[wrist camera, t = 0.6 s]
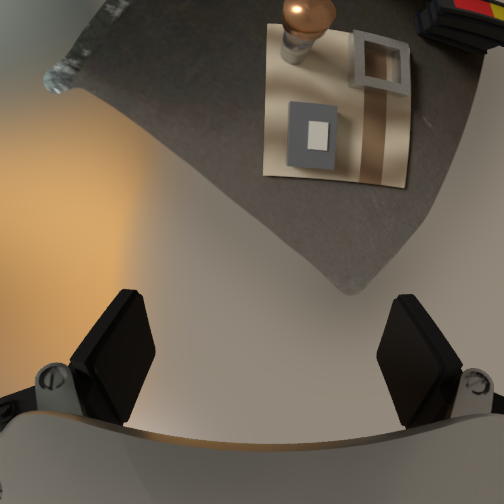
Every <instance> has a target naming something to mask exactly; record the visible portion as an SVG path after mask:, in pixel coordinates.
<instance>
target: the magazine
mask: <svg viewBox="0 0 504 504" xmlns="http://www.w3.org/2000/svg"><path fill="white" fill-rule="evenodd" d="M425 5H426V9H425V10H424V11H419V10H417V11H416V17H414V21H415V26H416V31H417V34H418V35H420V36H424V37H427V38H430V39H433V40H436V41H439V42H442V43H445V44H448V45H451V46H453V47H456V48H459V49H461V50H464V51H466V52H469V53H471V54H474V53H477V52H478V53H480V54H483V55H484V54H487V50H488V49H491V48H494V47H496V46H499V45H500V46H502V47H504V3H501V2H498V1H495V0H432V1H431V2H428V1H426V2H425Z"/></svg>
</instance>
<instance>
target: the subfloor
mask: <svg viewBox="0 0 504 504" xmlns="http://www.w3.org/2000/svg"><path fill="white" fill-rule="evenodd" d="M283 34H284V28H283V26H282V24H267V60H266V98H265V131H264V162H263V175H266V176H287V177H303V178H317V179H329V180H341V181H351V182H360V183H369V184H377V185H386V186H393V187H400V188H405V181H406V172H407V163H408V152H409V138H410V119H411V68H410V96H408V97H403V98H399V97H395V96H391V95H387V94H383V93H378V92H373V91H368V90H363V89H357V88H352V87H348V35H349V34H350V33H347V32H341V31H335V30H329V29H328V30H327V31H326V33H325V34H324V35H323V36H322V37H321V38H319V39H317V40H316V41H315V42H314V44H313V46H312V48H311V49H310V51H309V53H308V55H307V57H306V58H305V60H304V61H303V62H302V63H300V64H297V65H291V64H288V63H286V62H285V61H284V60H283V59H282V58H281V56H280V49H281V44H282V39H283ZM364 53H365V76H369V77H374V78H378V79H383V80H387V81H391V82H392V54H389V53H385V52H381V51H377V50H373V49H369V48H365V47H364ZM409 64H410V50H409ZM290 101H295V102H307V103H317V104H326V105H334V106H338V110H337V133H336V151H335V165H334V170H330V169H319V168H306V167H291V166H287V165H286V152H287V128H288V103H289V102H290Z"/></svg>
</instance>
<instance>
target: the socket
mask: <svg viewBox="0 0 504 504" xmlns="http://www.w3.org/2000/svg"><path fill="white" fill-rule="evenodd" d="M364 47H365V48H369V49H373V50H377V51H381V52H385V53H389V54H392V82H391V81H387V80H383V79H378V78H374V77H369V76H365V53H364ZM348 87H352V88H357V89H363V90H368V91H373V92H378V93H383V94H387V95H391V96H395V97H399V98H403V97H408V96H410V64H409V47H408V44H407V43H404V42H400V41H397V40H394V39H390V38H387V37H383V36H379V35H375V34H371V33H367V32H363V31H358V30H353V31H352V32H351V33H350V34H349V35H348Z"/></svg>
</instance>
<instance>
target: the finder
mask: <svg viewBox="0 0 504 504" xmlns="http://www.w3.org/2000/svg"><path fill="white" fill-rule="evenodd" d="M337 110H338V106H334V105H326V104H317V103H307V102H295V101H290V102H289V103H288V128H287V152H286V165H287V166H291V167H306V168H319V169H330V170H334V165H335V151H336V133H337Z"/></svg>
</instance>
